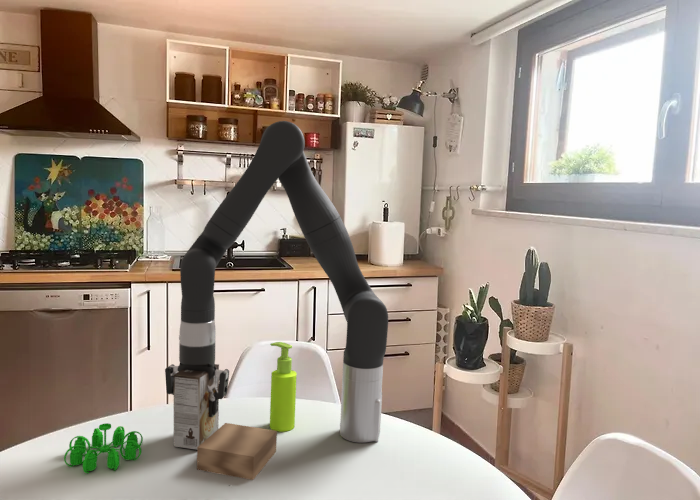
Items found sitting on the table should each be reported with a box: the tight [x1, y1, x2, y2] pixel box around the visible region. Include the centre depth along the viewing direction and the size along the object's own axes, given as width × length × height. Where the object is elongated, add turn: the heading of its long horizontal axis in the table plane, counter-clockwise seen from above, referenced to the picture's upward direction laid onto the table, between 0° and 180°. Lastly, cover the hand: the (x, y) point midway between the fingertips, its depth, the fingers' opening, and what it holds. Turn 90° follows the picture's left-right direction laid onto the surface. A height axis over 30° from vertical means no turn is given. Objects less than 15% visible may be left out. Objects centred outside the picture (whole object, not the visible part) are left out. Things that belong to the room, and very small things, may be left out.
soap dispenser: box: [269, 341, 297, 433], centre depth 126 cm, size 6×7×20 cm
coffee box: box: [173, 363, 220, 450], centre depth 117 cm, size 9×6×16 cm
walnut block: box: [196, 422, 278, 481], centre depth 110 cm, size 12×12×5 cm
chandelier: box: [63, 422, 144, 474], centre depth 109 cm, size 15×15×7 cm
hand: (196, 414), depth 117 cm, fingers closed on coffee box, 6 cm apart
